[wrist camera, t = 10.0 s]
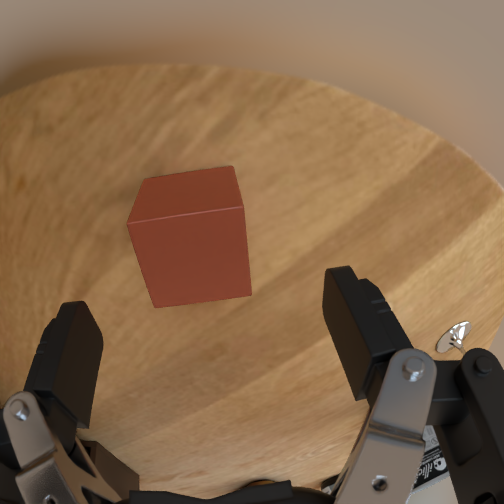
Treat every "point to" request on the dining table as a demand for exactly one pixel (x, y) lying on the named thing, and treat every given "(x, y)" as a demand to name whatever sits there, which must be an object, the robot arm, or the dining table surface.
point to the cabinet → (112, 469)
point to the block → (191, 237)
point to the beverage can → (430, 462)
